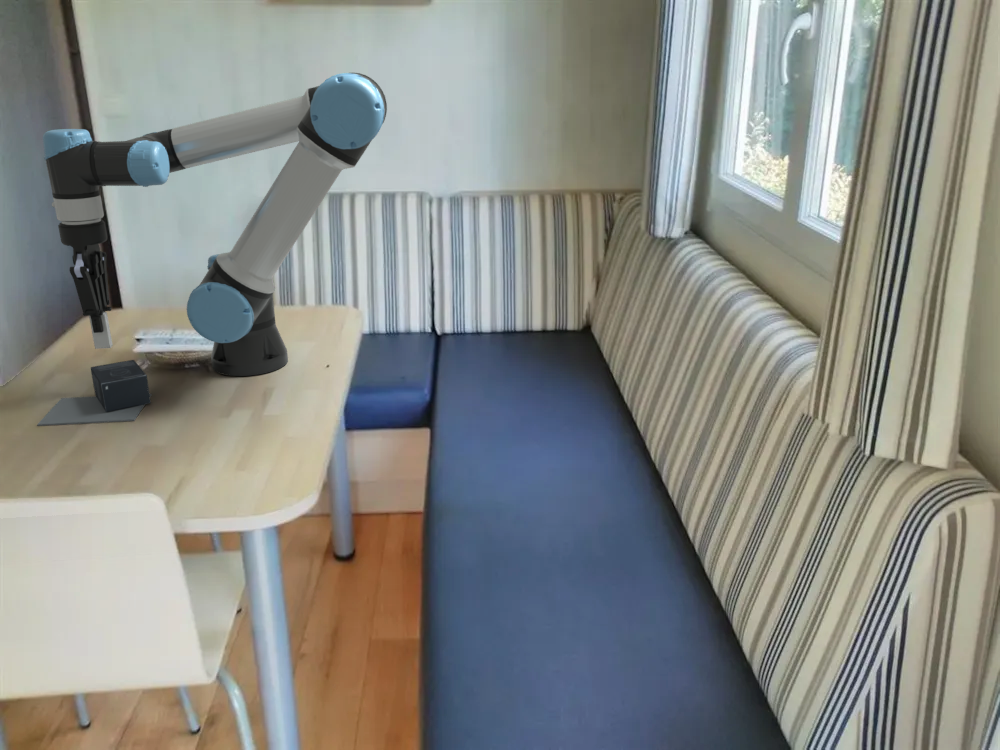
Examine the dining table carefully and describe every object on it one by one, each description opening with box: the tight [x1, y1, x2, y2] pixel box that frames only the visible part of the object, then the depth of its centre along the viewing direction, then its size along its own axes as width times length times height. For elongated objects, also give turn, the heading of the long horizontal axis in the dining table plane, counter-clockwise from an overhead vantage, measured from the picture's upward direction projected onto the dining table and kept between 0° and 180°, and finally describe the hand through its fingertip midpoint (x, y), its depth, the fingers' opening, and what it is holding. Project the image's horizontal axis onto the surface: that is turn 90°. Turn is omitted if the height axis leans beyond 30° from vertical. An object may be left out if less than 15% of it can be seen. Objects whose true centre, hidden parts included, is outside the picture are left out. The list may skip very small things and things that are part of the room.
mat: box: [37, 393, 152, 427], centre depth 153 cm, size 16×12×1 cm
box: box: [90, 359, 151, 412], centre depth 155 cm, size 8×6×11 cm
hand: (103, 346), depth 158 cm, fingers closed
